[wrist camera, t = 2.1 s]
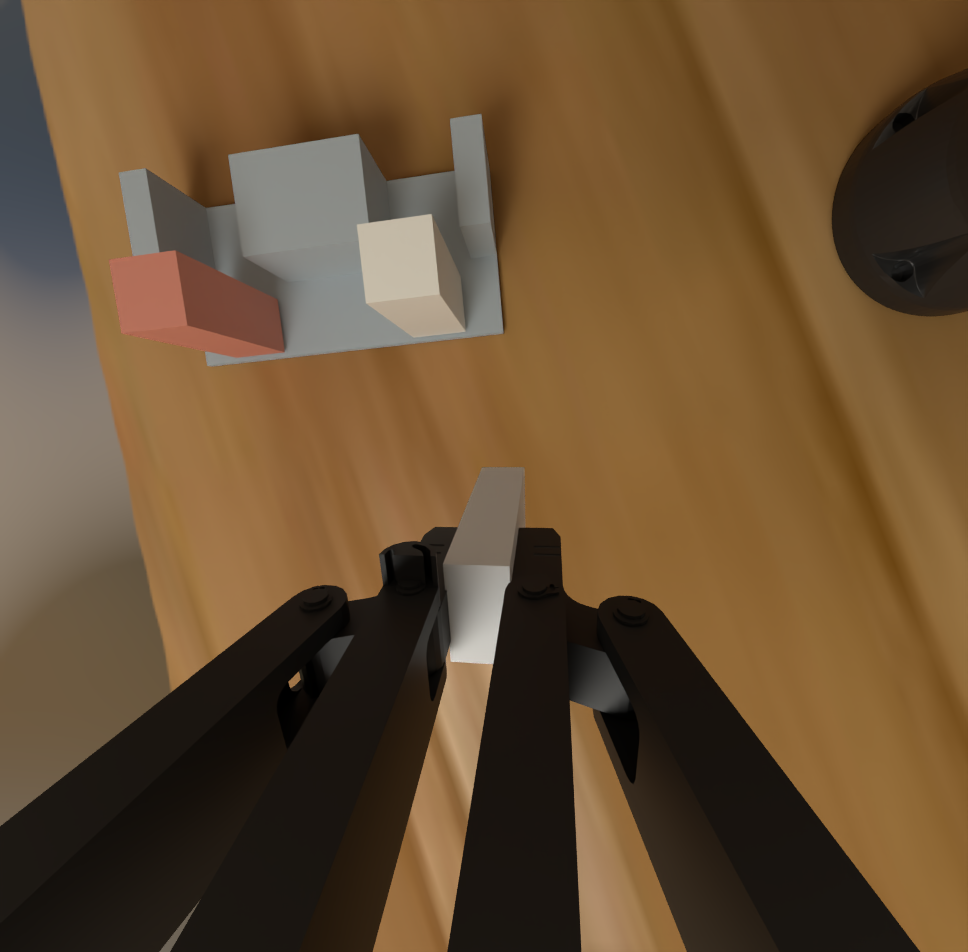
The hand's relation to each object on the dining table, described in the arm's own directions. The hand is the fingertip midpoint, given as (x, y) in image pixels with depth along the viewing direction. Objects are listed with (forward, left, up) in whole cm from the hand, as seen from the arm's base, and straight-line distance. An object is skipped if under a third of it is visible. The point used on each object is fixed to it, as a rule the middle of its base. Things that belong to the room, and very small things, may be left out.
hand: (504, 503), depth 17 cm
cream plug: (+5, -12, -22) cm, 25 cm away
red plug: (+20, -12, -22) cm, 32 cm away
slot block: (+13, -16, -22) cm, 30 cm away
